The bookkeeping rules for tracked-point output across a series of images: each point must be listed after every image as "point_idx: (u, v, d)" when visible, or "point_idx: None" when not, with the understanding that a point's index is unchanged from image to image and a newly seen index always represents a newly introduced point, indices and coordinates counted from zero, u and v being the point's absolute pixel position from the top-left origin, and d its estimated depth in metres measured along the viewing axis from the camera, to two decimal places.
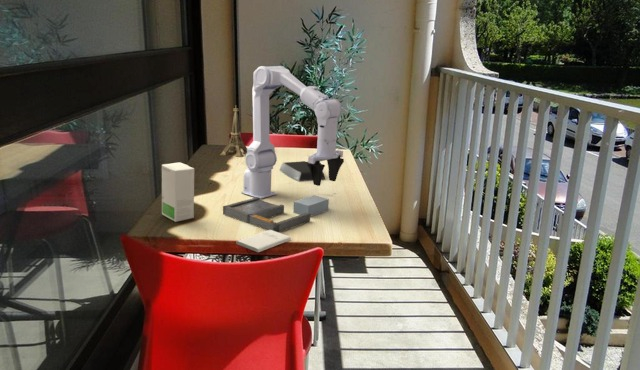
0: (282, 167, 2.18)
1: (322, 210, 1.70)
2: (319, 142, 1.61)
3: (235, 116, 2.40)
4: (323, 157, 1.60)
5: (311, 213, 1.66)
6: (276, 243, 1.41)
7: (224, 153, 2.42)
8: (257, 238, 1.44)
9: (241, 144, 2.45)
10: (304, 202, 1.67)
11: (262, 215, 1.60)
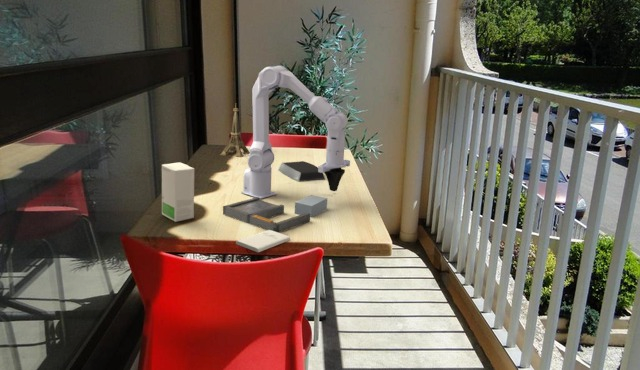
0: (281, 167, 2.17)
1: (322, 209, 1.71)
2: (328, 152, 1.72)
3: (235, 116, 2.40)
4: (332, 166, 1.71)
5: (313, 213, 1.66)
6: (276, 243, 1.42)
7: (224, 153, 2.42)
8: (257, 237, 1.43)
9: (241, 144, 2.45)
10: (305, 202, 1.66)
11: (262, 215, 1.60)
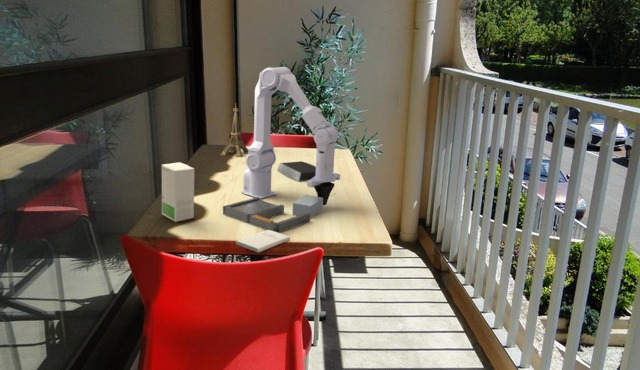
0: (280, 167, 2.17)
1: (319, 209, 1.70)
2: (317, 166, 1.69)
3: (235, 116, 2.40)
4: (321, 181, 1.68)
5: (312, 213, 1.65)
6: (276, 243, 1.42)
7: (224, 153, 2.42)
8: (256, 238, 1.43)
9: (241, 144, 2.45)
10: (303, 203, 1.65)
11: (262, 215, 1.60)
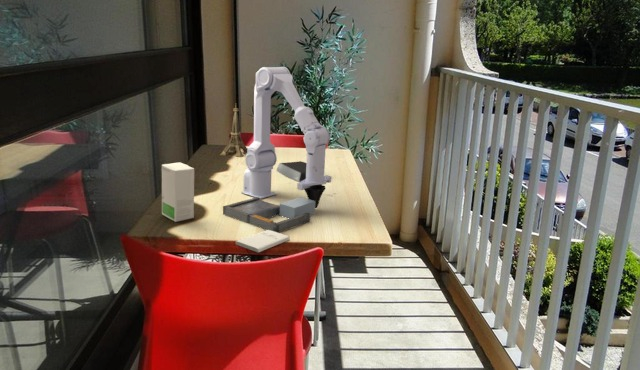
0: (279, 168, 2.17)
1: (309, 212, 1.67)
2: (308, 169, 1.66)
3: (235, 116, 2.40)
4: (312, 183, 1.65)
5: None
6: (275, 243, 1.42)
7: (224, 153, 2.42)
8: (256, 238, 1.43)
9: (241, 144, 2.45)
10: (290, 204, 1.63)
11: (262, 215, 1.60)
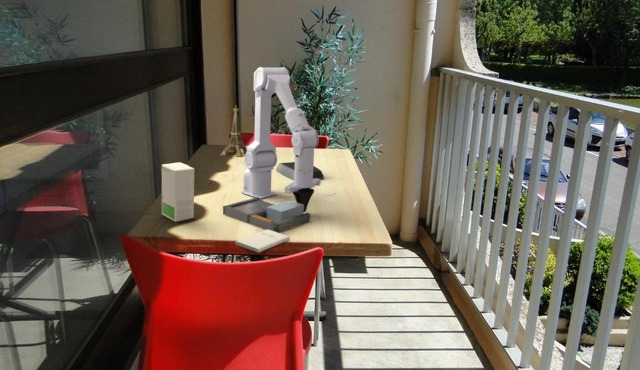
0: (279, 168, 2.16)
1: None
2: (296, 172, 1.62)
3: (235, 116, 2.40)
4: (300, 187, 1.61)
5: (284, 219, 1.58)
6: (275, 243, 1.42)
7: (224, 153, 2.42)
8: (256, 238, 1.43)
9: (241, 144, 2.45)
10: (277, 208, 1.59)
11: (262, 215, 1.60)
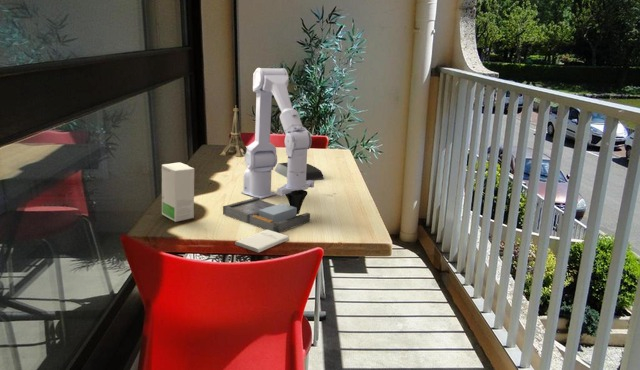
0: (278, 168, 2.16)
1: None
2: (289, 173, 1.59)
3: (235, 116, 2.40)
4: (292, 189, 1.58)
5: None
6: (275, 243, 1.42)
7: (224, 153, 2.42)
8: (255, 238, 1.43)
9: (241, 144, 2.45)
10: (269, 211, 1.57)
11: None
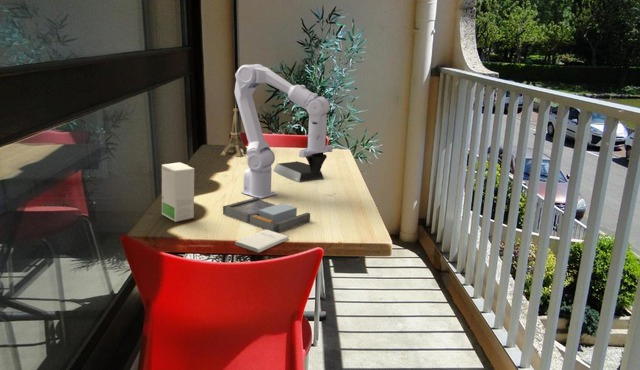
0: (277, 168, 2.15)
1: None
2: (309, 137, 1.71)
3: (235, 116, 2.40)
4: (313, 151, 1.70)
5: None
6: (275, 243, 1.42)
7: (224, 153, 2.42)
8: (255, 238, 1.43)
9: (241, 144, 2.45)
10: (269, 211, 1.57)
11: None
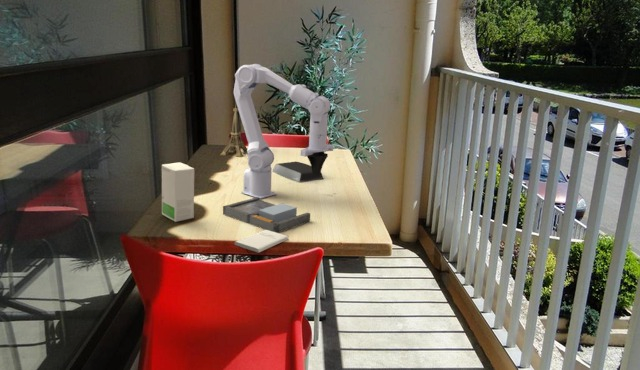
0: (276, 168, 2.15)
1: None
2: (311, 136, 1.73)
3: (235, 116, 2.40)
4: (314, 150, 1.72)
5: None
6: (275, 243, 1.42)
7: (224, 153, 2.42)
8: (255, 238, 1.43)
9: (241, 144, 2.45)
10: (269, 211, 1.57)
11: None
